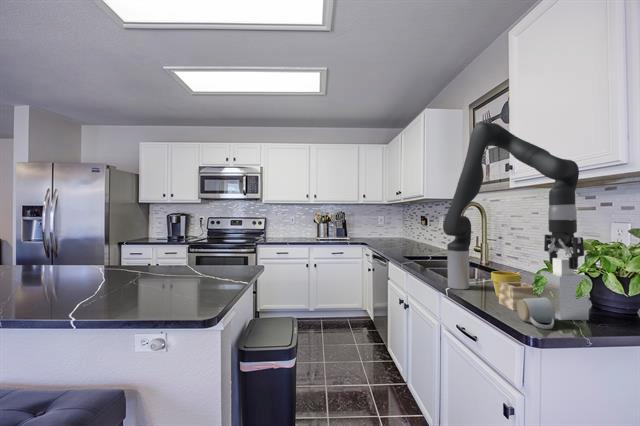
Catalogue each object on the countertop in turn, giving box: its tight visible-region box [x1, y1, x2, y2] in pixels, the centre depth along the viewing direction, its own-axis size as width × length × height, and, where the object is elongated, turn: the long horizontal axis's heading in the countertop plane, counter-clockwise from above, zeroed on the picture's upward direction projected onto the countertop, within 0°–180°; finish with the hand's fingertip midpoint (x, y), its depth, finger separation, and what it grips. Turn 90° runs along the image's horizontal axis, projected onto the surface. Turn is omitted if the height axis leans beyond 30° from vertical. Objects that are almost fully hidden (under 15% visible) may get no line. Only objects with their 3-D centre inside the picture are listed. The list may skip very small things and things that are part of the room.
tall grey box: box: [539, 270, 590, 321], centre depth 105 cm, size 9×9×14 cm
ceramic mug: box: [516, 297, 556, 330], centre depth 98 cm, size 11×8×8 cm
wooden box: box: [498, 281, 540, 311], centre depth 115 cm, size 9×9×8 cm
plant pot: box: [490, 270, 521, 298], centre depth 128 cm, size 10×10×10 cm
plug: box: [552, 257, 575, 275], centre depth 105 cm, size 4×5×9 cm
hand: (563, 266), depth 105 cm, fingers open, 8 cm apart
